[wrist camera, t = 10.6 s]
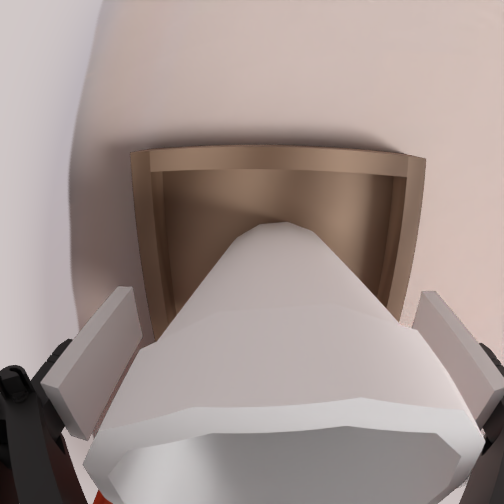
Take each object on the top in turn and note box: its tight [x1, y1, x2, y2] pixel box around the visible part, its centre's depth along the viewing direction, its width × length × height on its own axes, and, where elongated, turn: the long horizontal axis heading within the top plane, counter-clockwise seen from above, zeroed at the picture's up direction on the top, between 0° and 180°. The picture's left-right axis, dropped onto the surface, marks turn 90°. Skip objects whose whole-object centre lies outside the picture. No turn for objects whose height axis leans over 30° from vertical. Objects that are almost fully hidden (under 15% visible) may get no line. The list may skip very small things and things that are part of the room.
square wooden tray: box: [130, 145, 426, 342], centre depth 17 cm, size 14×14×2 cm
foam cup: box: [83, 222, 485, 504], centre depth 11 cm, size 10×9×13 cm
